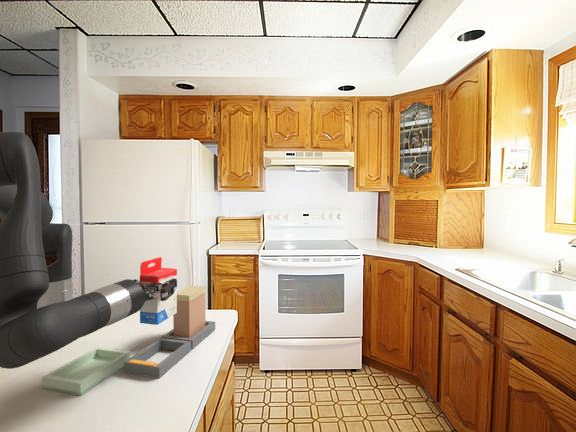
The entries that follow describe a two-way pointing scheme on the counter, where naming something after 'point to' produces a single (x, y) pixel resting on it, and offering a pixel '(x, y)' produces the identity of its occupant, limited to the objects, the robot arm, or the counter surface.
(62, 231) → the robot arm
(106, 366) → the tray
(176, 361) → the grey holder frame
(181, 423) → the counter surface
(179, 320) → the cartridge
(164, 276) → the ink box
